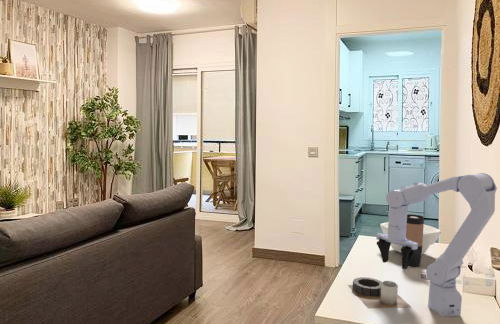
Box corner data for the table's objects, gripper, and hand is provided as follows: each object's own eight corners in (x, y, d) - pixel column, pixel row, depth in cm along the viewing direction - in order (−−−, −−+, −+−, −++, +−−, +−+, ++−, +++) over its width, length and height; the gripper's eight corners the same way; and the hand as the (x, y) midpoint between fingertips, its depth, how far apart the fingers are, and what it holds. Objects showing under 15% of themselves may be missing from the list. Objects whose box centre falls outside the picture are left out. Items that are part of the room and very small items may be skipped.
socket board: (411, 310, 128) (412, 299, 128) (367, 311, 127) (368, 300, 126) (385, 286, 146) (386, 277, 146) (347, 287, 145) (347, 277, 145)
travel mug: (422, 263, 173) (425, 216, 171) (419, 268, 166) (422, 219, 164) (402, 260, 177) (406, 213, 175) (399, 265, 170) (402, 216, 168)
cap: (399, 304, 130) (400, 286, 129) (384, 304, 129) (385, 286, 129) (392, 297, 135) (393, 280, 134) (377, 298, 134) (378, 280, 134)
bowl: (372, 247, 194) (373, 222, 193) (409, 243, 203) (410, 220, 202) (407, 262, 174) (408, 235, 173) (446, 257, 182) (448, 231, 181)
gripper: (424, 228, 136) (421, 269, 137) (386, 219, 147) (383, 257, 149) (411, 231, 132) (408, 273, 133) (373, 222, 143) (371, 260, 145)
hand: (394, 265), depth 140 cm, fingers open, 7 cm apart
